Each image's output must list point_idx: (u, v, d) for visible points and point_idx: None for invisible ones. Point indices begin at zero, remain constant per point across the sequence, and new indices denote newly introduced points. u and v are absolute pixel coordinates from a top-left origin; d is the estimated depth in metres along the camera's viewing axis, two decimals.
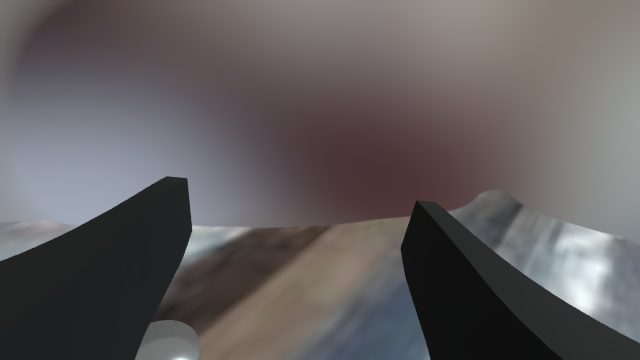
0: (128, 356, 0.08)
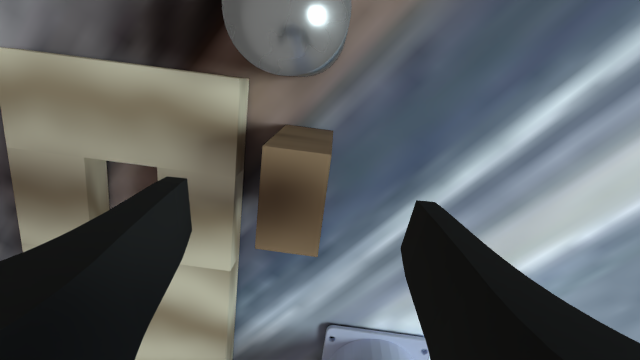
0: (128, 356, 0.08)
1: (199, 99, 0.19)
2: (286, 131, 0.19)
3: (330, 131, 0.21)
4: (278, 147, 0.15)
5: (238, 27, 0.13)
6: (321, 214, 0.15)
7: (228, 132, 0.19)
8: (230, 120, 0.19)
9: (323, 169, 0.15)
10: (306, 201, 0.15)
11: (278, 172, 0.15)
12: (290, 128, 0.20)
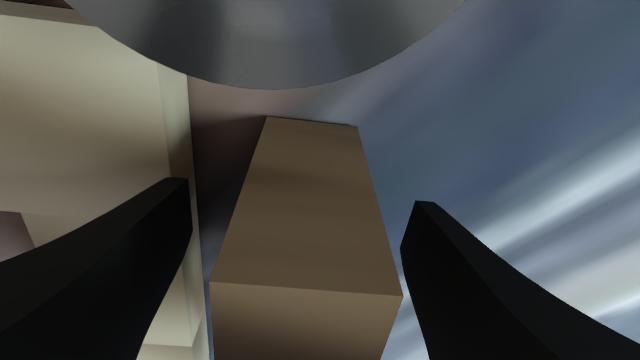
0: (130, 356, 0.08)
1: (67, 82, 0.08)
2: (270, 151, 0.09)
3: (353, 130, 0.11)
4: (255, 279, 0.05)
5: None
6: None
7: (148, 149, 0.09)
8: (147, 126, 0.09)
9: (378, 323, 0.06)
10: None
11: (258, 330, 0.06)
12: (276, 133, 0.10)
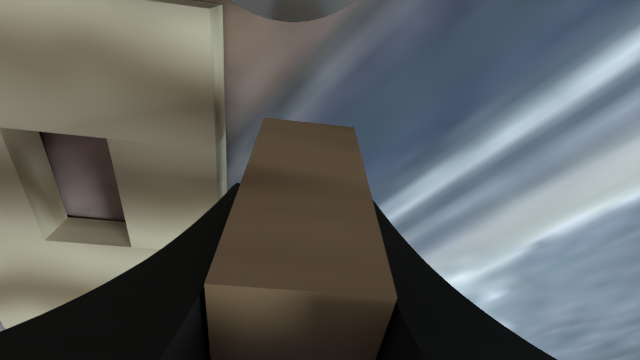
0: None
1: (151, 41, 0.13)
2: (266, 153, 0.09)
3: (350, 131, 0.11)
4: (250, 281, 0.05)
5: None
6: None
7: (200, 90, 0.14)
8: (201, 72, 0.13)
9: (372, 323, 0.06)
10: None
11: (254, 332, 0.06)
12: (273, 134, 0.10)
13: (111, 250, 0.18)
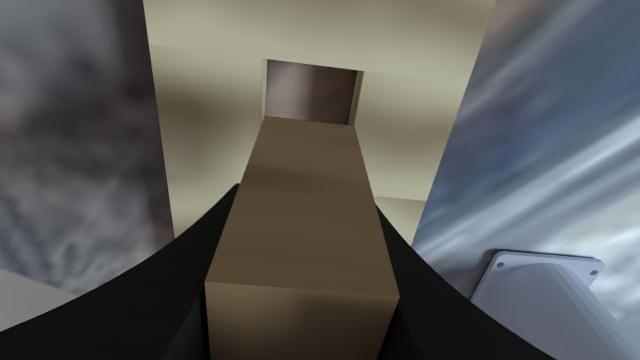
0: None
1: None
2: (267, 151, 0.09)
3: (350, 130, 0.11)
4: (251, 279, 0.05)
5: None
6: None
7: (478, 17, 0.14)
8: None
9: (374, 323, 0.06)
10: None
11: (254, 330, 0.06)
12: (274, 132, 0.10)
13: None
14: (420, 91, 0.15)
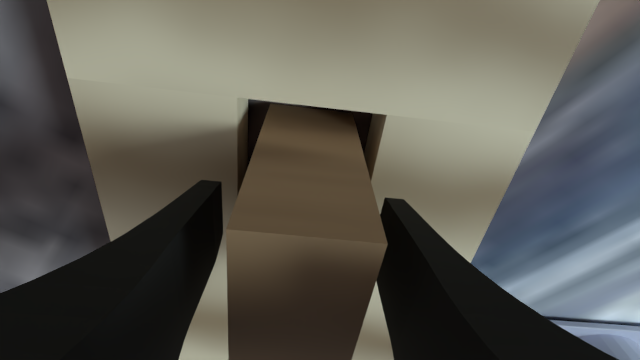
0: (173, 359, 0.08)
1: None
2: (273, 132, 0.10)
3: (349, 116, 0.12)
4: (264, 228, 0.06)
5: None
6: (355, 334, 0.08)
7: (561, 38, 0.09)
8: (577, 10, 0.09)
9: (367, 268, 0.07)
10: (326, 317, 0.07)
11: (265, 275, 0.07)
12: (279, 117, 0.11)
13: None
14: (466, 142, 0.11)
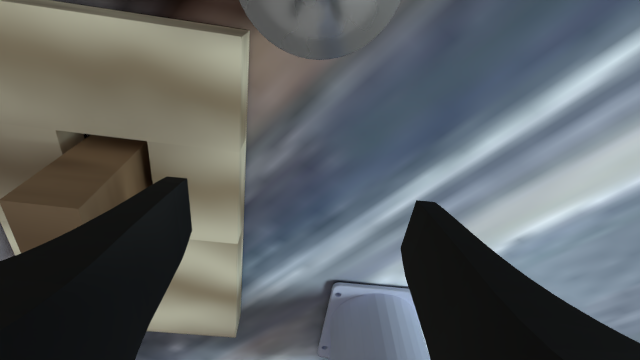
0: (128, 356, 0.08)
1: (191, 62, 0.15)
2: (77, 150, 0.17)
3: None
4: (19, 200, 0.13)
5: None
6: None
7: (229, 102, 0.16)
8: (231, 88, 0.16)
9: (75, 221, 0.14)
10: None
11: (27, 224, 0.14)
12: (92, 140, 0.18)
13: None
14: (200, 157, 0.18)
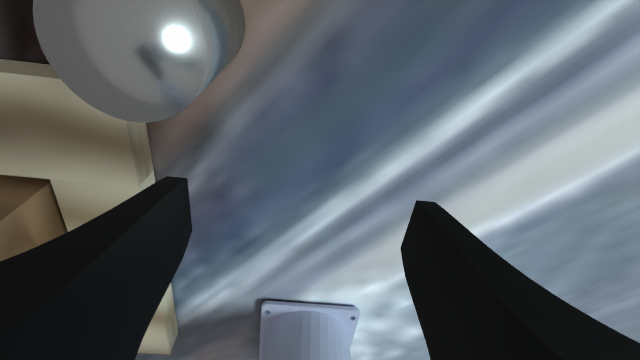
0: (128, 356, 0.08)
1: (77, 108, 0.16)
2: None
3: None
4: None
5: (68, 69, 0.11)
6: None
7: (120, 143, 0.17)
8: (119, 130, 0.17)
9: None
10: None
11: None
12: (3, 177, 0.19)
13: None
14: (102, 192, 0.19)
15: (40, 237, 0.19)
